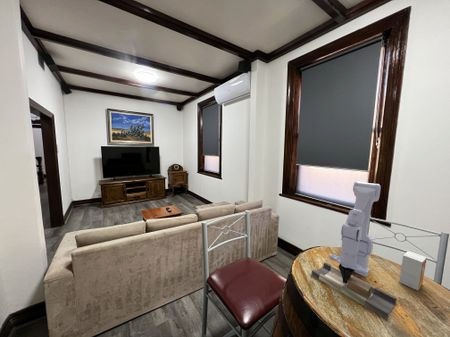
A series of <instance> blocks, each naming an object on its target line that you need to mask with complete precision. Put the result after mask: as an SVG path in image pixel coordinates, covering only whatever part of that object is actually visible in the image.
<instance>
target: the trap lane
mask: <svg viewBox="0 0 450 337" xmlns="http://www.w3.org/2000/svg"><path fill="white" fill-rule="evenodd" d="M311 276H312V277H314V278H315V279H318V280H319V281H321V282H323V283H325V284H326V285H327V286H330V287H332V289H335V291H336V290H337V291H338V292H340V293H341V294H344V295H345V296H347V297H348V298H350V299H352V300H354V301H355V302H357V303H359V304H360V305H362V306H364V307H365V308H366V309H367V308H368V309H369V310H370V311H372V312H374V313H376V314H377V315H379V316H381V317H383V318H384V319H386V320H388V318H389V316H390V315H391V313H392V311H393V309H394V307H395V306H396V304H397V299H398V298H397V296H395V295H393V294H391V293H389V292H387V291H384V290H383V289H382V288H378V287H377V286H375V285H372V284H370V283H368V282H366V281H365V280H363V279H360V278H359V277H357V276H355V275H353V274H352V275H351V276H350V278H351V277H352V276H353V277H355V278H357V279H359V280H362V281H364V282H366V283H368V284H370V285H372V291H371V296H370V297H369V298H368V299H366V298H364V297H362V296H360V295H359V294H357V293H355V292H353V291H351V290H350V289H348V288H347V284H345V283H343V279H342V275H341V272H340V270H339V267H336V266H334V265H332V264H330V263H328V262H327V261H324V262H323V266H322V267H320V268H318V269H317V270H315V269H312V270H311Z"/></svg>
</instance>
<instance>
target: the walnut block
mask: <svg viewBox="0 0 450 337" xmlns="http://www.w3.org/2000/svg"><path fill="white" fill-rule="evenodd" d="M353 276H354V275H353ZM353 276H352V277H351V278H349V279H348V281H347V288H348V289H350V290H351V291H353V292H355V293H357V294H359V295H360V296H362V297H364V298H366V299H368V298H369V297H370V296H371V291H372V284H371V285H370V283H369V284H368V282H367V283H366V281H365V280H363V279H361V280H359V279H360V278H359V279H357V278H358V277H357V278H355V277H356V276H355V277H353ZM362 280H363V281H362ZM364 281H365V282H364Z"/></svg>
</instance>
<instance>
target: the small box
mask: <svg viewBox="0 0 450 337" xmlns="http://www.w3.org/2000/svg"><path fill="white" fill-rule="evenodd" d="M427 259H428V258H427V257H426V256H423V255H420V254H417V253H415V252H412V251H410V250H408V251H407V252H405V253H404V254H403V256H402V260H401V261H402V262H401V268H400V274H399V280H398V282H399V283H401V284H402V285H405V286H407V287H409V288H412V289H413V290H416V291H419V290H420V288H422V285H423V281H424V276H425V270H426V265H427V264H426V263H427Z"/></svg>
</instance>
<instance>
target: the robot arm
mask: <svg viewBox="0 0 450 337" xmlns="http://www.w3.org/2000/svg"><path fill="white" fill-rule="evenodd" d="M352 187H353V188H352V192H353V194H354V196H355V202H354V207H353V209H350V210H349V212H348V216H347V218H346V221H345V224H342V226H341V230H340V236H341V239H340V240H341V247H340V248H341V250H340V255H339V256H338V255H335V254H333V253H330V254H328V259H329V260H331V261H334V262H337V263H338V264H339V265H338V267H337V268H338V269H339V270H340V272H341V275H342V279H343V283H345V284H347V281H348V279H349V278H350V276H351V275H353V274H354V273H356V274H358V275H360V276H364V277H366V278H368V277H369V275H370V274H369V273H370V270H371V269H370V268H368V266H369V265H368V264H369V258H370V257H369V256H371V255H372V253H373V249H374V240H373V238H372V237H370V235H369V234H368V231H369V224H370V218H371V211H372V208H373V207H372V205H373V203H374V202H378V201H379V199H380V195H381V189H382V188H381V185H380V184H379V183H371V182H370V183H369V182H363V181H358V180H355V182H353V186H352Z"/></svg>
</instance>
